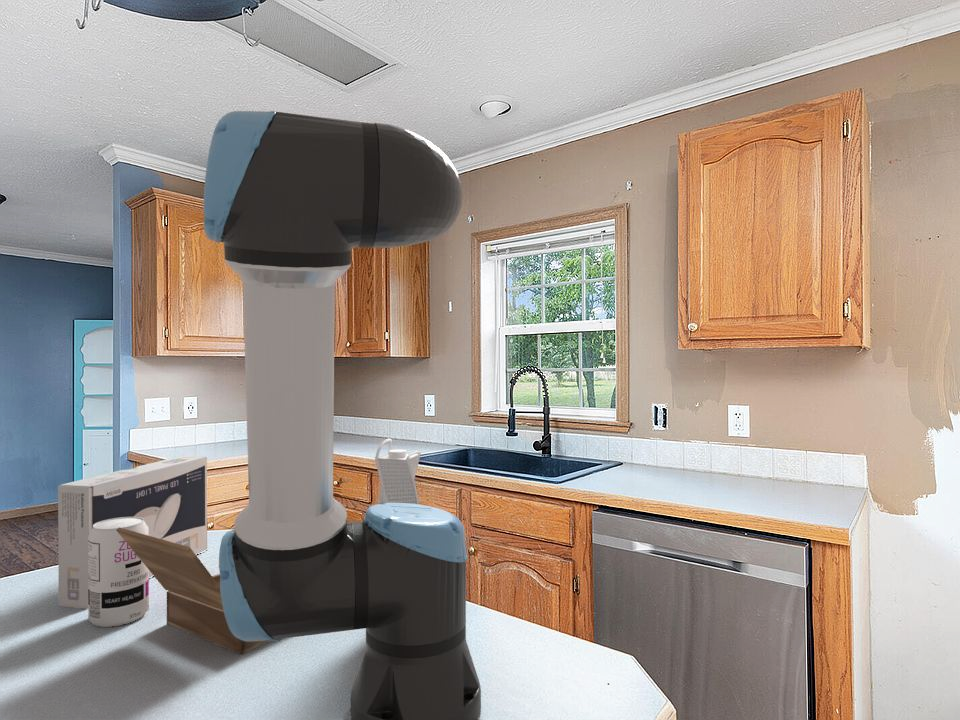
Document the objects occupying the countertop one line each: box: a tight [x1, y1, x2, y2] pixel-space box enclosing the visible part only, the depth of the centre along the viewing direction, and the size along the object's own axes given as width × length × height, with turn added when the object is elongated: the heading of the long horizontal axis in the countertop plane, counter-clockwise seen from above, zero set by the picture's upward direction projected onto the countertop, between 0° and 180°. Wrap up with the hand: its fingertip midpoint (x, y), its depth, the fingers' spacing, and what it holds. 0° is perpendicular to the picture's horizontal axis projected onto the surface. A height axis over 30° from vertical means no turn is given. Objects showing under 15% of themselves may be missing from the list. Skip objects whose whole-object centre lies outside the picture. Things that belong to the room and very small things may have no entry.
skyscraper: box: [374, 437, 421, 505], centre depth 95 cm, size 8×8×28 cm
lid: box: [116, 527, 223, 610], centre depth 86 cm, size 1×17×13 cm
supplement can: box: [87, 517, 150, 628], centre depth 96 cm, size 8×8×15 cm
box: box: [166, 573, 270, 655], centre depth 95 cm, size 14×18×5 cm
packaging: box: [57, 455, 208, 609], centre depth 115 cm, size 30×6×20 cm, turn 168°
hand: (299, 421), depth 104 cm, fingers closed
